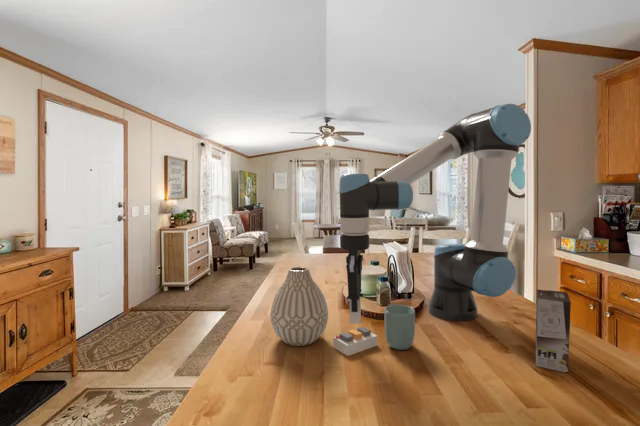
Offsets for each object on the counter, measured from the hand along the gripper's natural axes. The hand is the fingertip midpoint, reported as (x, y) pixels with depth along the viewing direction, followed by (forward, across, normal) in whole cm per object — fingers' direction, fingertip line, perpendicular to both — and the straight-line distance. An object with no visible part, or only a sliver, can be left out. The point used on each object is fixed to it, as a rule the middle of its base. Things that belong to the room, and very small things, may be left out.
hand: (355, 322), depth 91 cm
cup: (+7, -2, +11) cm, 13 cm away
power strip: (+7, 0, 0) cm, 7 cm away
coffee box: (+7, -1, +46) cm, 47 cm away
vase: (+7, -1, -16) cm, 17 cm away
